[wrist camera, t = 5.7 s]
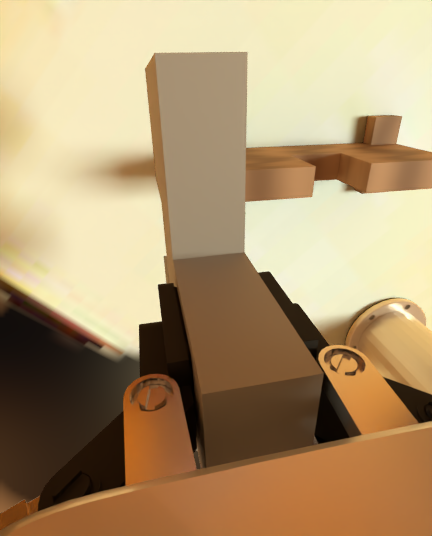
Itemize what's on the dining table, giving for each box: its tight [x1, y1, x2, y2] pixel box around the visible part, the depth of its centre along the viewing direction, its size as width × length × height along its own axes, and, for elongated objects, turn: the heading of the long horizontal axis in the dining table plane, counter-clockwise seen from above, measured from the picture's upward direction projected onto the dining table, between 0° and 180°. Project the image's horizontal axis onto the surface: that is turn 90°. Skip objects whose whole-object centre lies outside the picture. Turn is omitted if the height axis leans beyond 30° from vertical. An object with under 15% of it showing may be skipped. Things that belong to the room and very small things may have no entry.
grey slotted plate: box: [145, 52, 324, 469], centre depth 15 cm, size 16×2×16 cm, turn 1°
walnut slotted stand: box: [245, 115, 432, 202], centre depth 34 cm, size 22×8×10 cm, turn 90°
